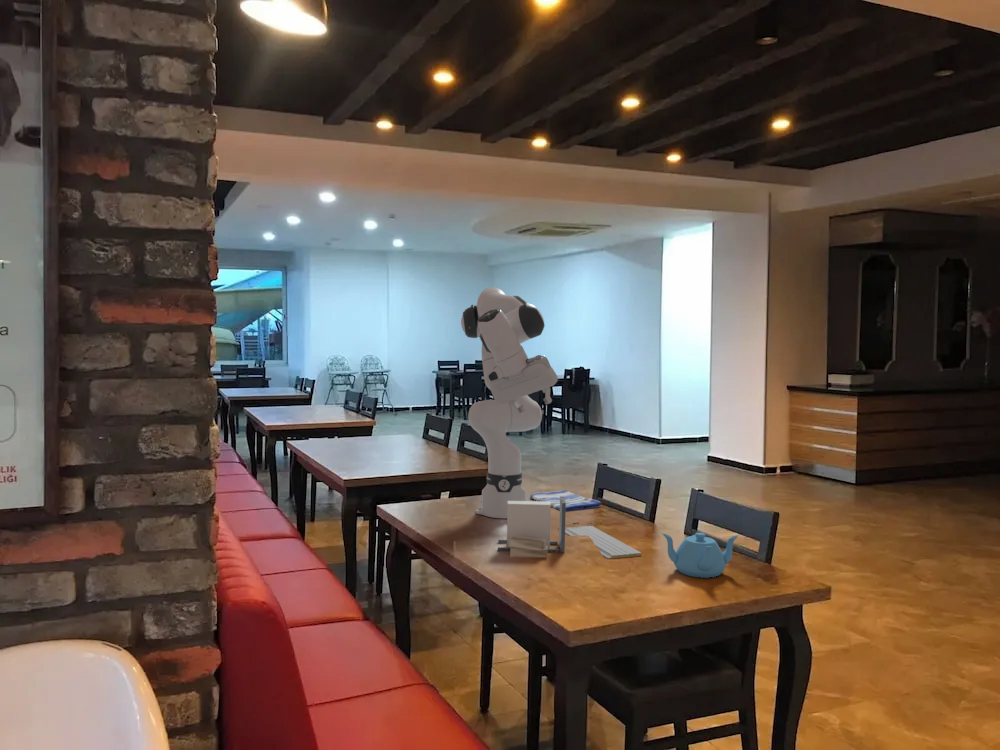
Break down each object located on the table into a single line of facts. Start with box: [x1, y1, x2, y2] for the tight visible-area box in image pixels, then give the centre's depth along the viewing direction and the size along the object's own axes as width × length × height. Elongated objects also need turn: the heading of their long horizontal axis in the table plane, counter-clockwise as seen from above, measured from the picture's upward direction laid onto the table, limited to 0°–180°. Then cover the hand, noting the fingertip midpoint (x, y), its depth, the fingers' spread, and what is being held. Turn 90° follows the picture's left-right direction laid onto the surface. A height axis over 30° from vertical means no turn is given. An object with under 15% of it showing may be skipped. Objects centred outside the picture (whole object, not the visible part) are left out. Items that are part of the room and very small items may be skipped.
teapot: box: [661, 532, 739, 579], centre depth 201 cm, size 15×15×10 cm
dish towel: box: [529, 489, 602, 512], centre depth 281 cm, size 17×24×3 cm
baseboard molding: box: [557, 522, 642, 560], centre depth 228 cm, size 31×3×12 cm
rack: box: [497, 496, 567, 554], centre depth 217 cm, size 9×18×15 cm, turn 89°
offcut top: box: [509, 536, 546, 551], centre depth 210 cm, size 4×9×2 cm, turn 69°
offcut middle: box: [509, 546, 548, 558], centre depth 210 cm, size 4×10×2 cm, turn 87°
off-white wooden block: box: [506, 500, 552, 549], centre depth 217 cm, size 4×12×14 cm, turn 89°
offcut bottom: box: [509, 555, 548, 559], centre depth 210 cm, size 4×10×2 cm, turn 89°
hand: (535, 407), depth 218 cm, fingers open, 8 cm apart
